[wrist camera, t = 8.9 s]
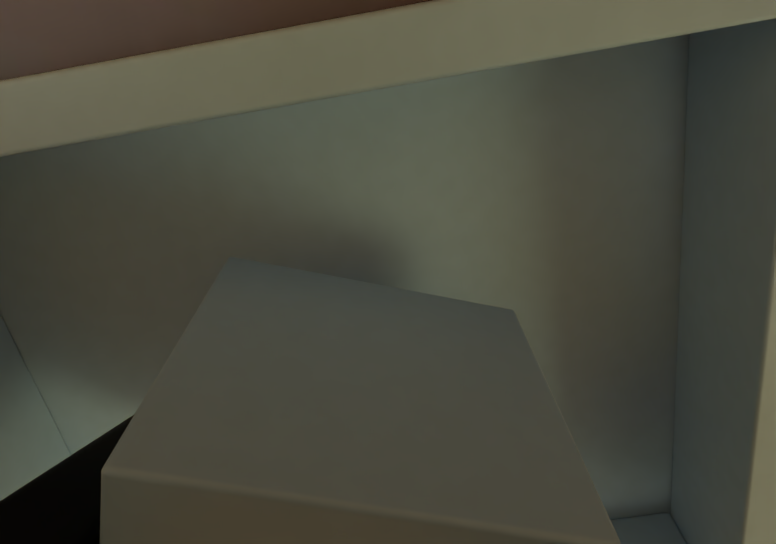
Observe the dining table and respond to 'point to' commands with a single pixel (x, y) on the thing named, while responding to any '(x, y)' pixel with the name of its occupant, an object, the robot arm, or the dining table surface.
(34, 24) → the dining table surface
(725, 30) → the gray tray
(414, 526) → the gray block
